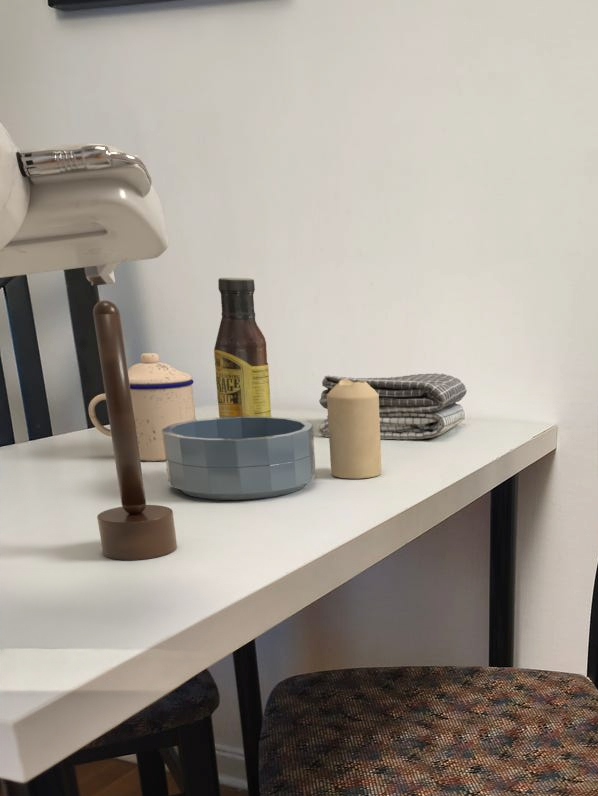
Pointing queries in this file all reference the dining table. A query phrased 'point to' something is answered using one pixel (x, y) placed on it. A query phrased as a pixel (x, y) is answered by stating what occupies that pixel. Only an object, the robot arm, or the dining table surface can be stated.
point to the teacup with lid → (154, 403)
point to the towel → (410, 404)
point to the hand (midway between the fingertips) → (29, 283)
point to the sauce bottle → (240, 354)
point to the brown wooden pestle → (126, 457)
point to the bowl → (239, 456)
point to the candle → (354, 430)
